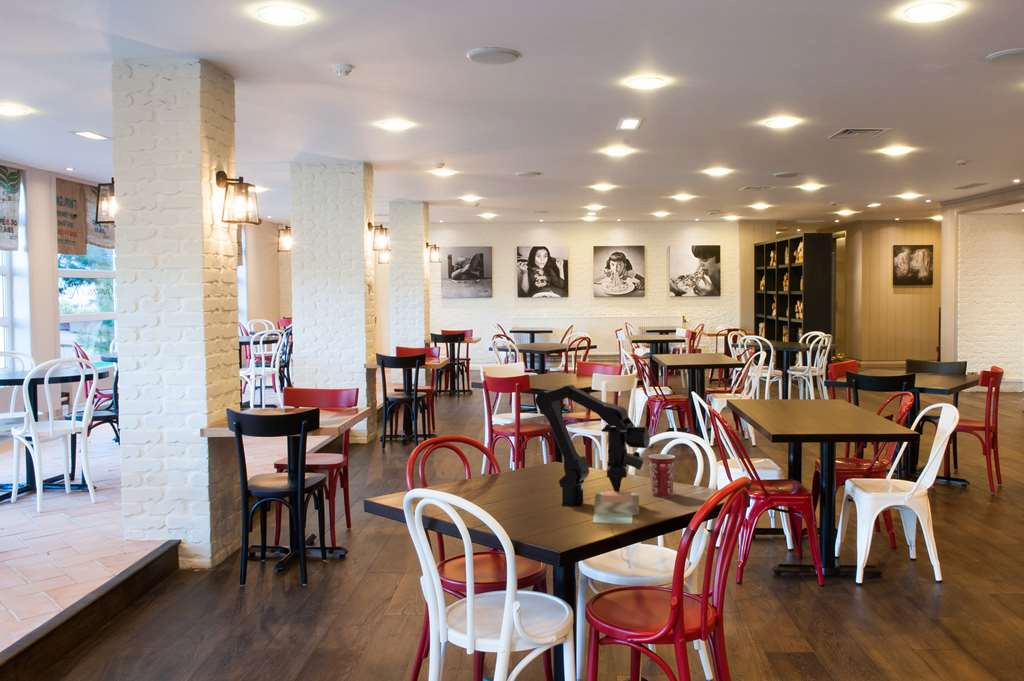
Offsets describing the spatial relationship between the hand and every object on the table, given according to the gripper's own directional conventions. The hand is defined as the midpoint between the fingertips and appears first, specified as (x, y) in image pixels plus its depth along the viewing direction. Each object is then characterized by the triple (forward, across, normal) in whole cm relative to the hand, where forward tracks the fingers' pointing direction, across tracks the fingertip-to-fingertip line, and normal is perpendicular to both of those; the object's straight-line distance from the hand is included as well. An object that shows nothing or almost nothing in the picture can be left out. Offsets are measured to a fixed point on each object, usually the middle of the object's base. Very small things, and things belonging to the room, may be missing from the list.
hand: (617, 493), depth 272 cm
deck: (+5, -1, 0) cm, 5 cm away
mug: (+5, +19, -15) cm, 25 cm away
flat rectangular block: (+1, -4, 0) cm, 4 cm away
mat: (+5, -12, +1) cm, 13 cm away
